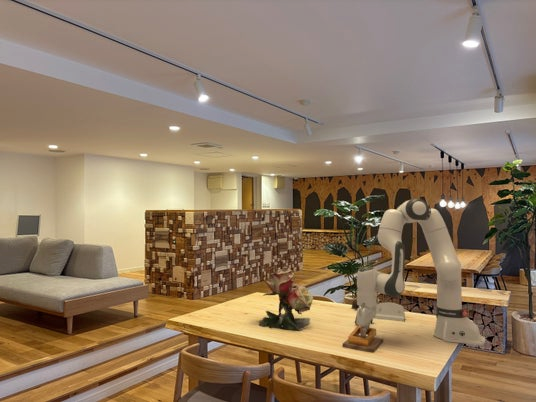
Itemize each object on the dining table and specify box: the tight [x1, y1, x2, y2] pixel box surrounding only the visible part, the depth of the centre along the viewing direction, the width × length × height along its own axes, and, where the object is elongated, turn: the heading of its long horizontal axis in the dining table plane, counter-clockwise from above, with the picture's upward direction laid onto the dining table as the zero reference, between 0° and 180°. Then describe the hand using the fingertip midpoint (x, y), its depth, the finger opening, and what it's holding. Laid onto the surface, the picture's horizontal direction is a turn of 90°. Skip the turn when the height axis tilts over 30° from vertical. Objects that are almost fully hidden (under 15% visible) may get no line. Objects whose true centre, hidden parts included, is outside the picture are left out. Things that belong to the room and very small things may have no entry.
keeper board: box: [342, 326, 384, 354], centre depth 181 cm, size 14×16×8 cm
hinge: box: [374, 302, 406, 323], centre depth 225 cm, size 17×5×10 cm, turn 67°
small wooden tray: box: [347, 325, 377, 347], centre depth 181 cm, size 9×13×3 cm
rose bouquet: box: [258, 267, 314, 331], centre depth 216 cm, size 26×29×30 cm
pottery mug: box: [351, 297, 360, 310], centre depth 247 cm, size 12×10×8 cm
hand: (366, 330), depth 186 cm, fingers closed on small wooden tray, 2 cm apart
